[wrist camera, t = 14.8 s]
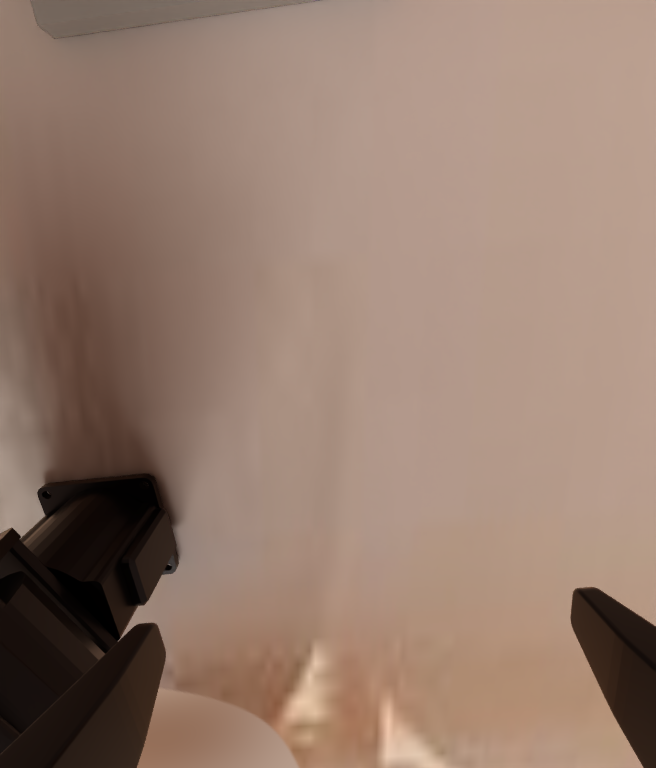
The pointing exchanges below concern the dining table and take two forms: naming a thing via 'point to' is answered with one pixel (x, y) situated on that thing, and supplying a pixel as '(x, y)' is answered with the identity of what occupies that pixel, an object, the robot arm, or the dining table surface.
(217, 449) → the dining table surface
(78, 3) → the housing
